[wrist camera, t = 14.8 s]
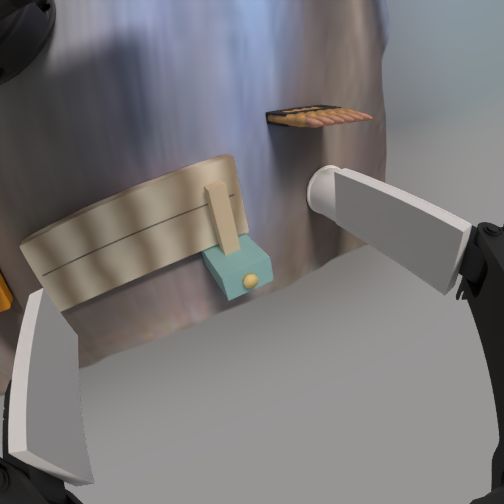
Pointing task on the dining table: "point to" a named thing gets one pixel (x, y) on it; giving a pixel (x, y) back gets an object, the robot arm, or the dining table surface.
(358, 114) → the ammunition clip
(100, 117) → the dining table surface
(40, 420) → the robot arm
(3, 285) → the orange bell-shaped figure
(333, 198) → the white smoke grenade
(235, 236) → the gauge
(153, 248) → the board
